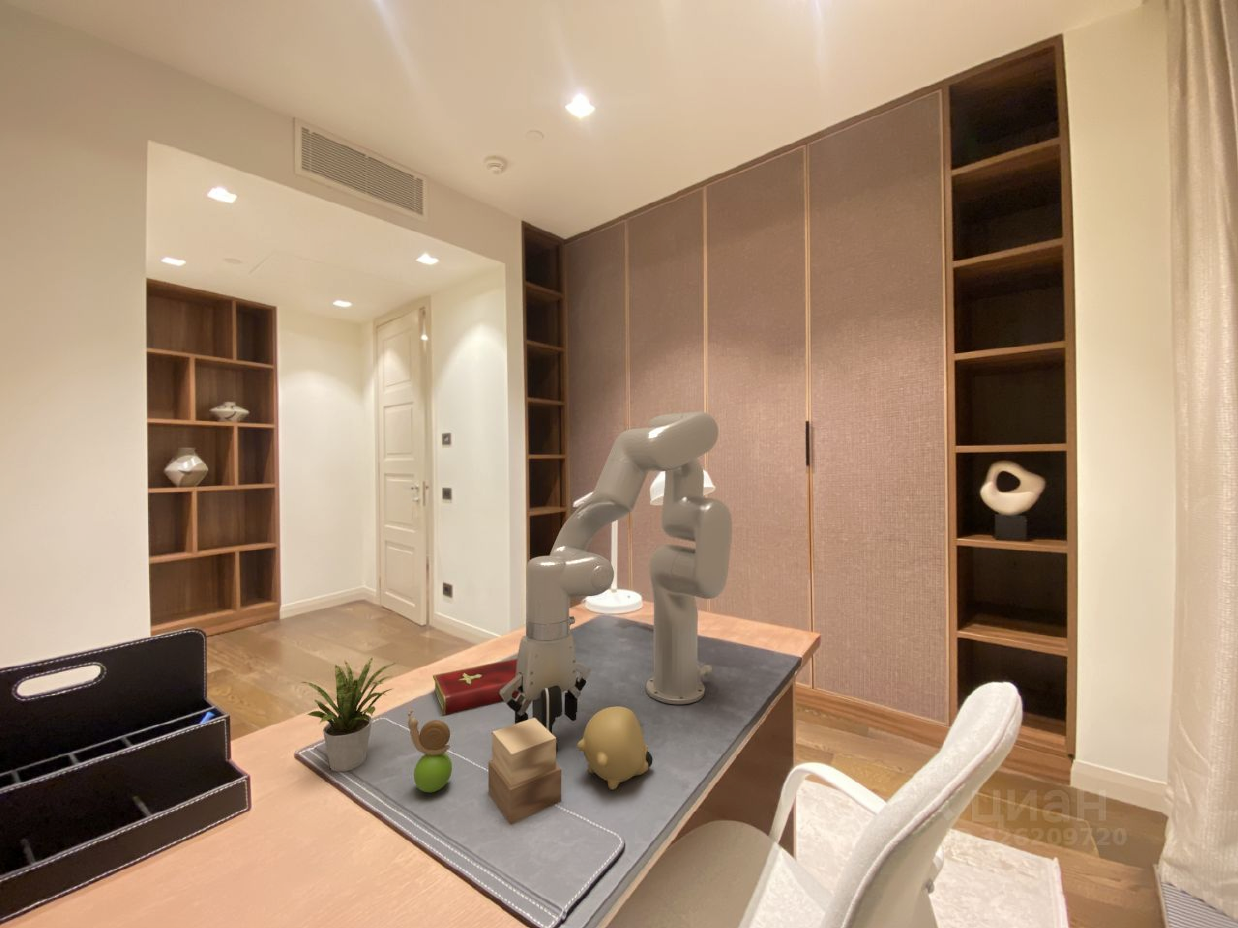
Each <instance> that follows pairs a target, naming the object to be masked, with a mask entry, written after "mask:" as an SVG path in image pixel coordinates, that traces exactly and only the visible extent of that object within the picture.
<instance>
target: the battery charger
mask: <svg viewBox="0 0 1238 928" xmlns="http://www.w3.org/2000/svg"><path fill="white" fill-rule="evenodd" d="M562 695H563V692H561V689H560V687H559V686H553V687H550V688H546V689H545V690H543V691H542V692H541V698H540V699H537V700H532V702H531V707H532V709H531V710H532V712H531V714H532V718H536V719H537V720H538V721H539V722H540V723H541V724H542V725H543V726H544V727H545V728H546V729H547V730H548V731H549V732H550V733H551V734H553V726H554V723H555V722H556V721H557V719H558V718H560V717H562V715H563V696H562ZM532 718H531V719H532ZM558 750H559V744H558V743H557V742H556V752H558Z"/></svg>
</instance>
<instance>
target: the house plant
mask: <svg viewBox="0 0 1238 928" xmlns="http://www.w3.org/2000/svg"><path fill="white" fill-rule="evenodd" d="M372 661H373V657H371V658H370V659H369V660H368V661H367V663H366V664H365V665H364V667H363V669H362V671H361V673H360V674H359V677H358V678H355V679H354V672H353V671H352V668H351V666H350V665H349V663H348V662H347V661H346V660H345V659H344V664H345V665H344V666H345V668H346V671H347V676H346V674H345V671H344V669H342V668H341V667H340V666H339V665H338V664H334V677H335V684H336V686H335V687H336V688H335V689H336V704H335V702H334V701H333V700H332V697H331V696H329V694H328V692H326V691H325V690H324V689H323V688H321V687H320V686H318V685H317V684H314V683H311V682H309V681H301V683H304V684H306V685H308V686H310V687H312V688H313V689H314V690H316V691H317V693H316V695H318V696H321V697H323V698H324V700H325V701H326V702H327V703H328V704H329V706H330V707H331V708H332V709H333V710H334V711H332V709H330V708H329V707H328V706H327V705H326V704H324V703H323V702H322V701H320V700H318V699H314V702H315V703H316V704H317V706H318V707H319V709H320V710H321V711H320V710H315V711H311V712H309V713H307V714H306V716H307V715H308V716H311V717H317V718H319V719H321V720H320V721H319V723H318V725H320V724H322V723H324V722H328V723H327V724H326V725H325V726H324V727H323V729H322V732H323V738H324V743H325V747H326V748H325V749H326V753H327V759H328V764H329V768H331V769H330V770H331V771H333V772H347V771H351V770H355V769H356V768H358V767H359V766H361V765H362V764H364V763H365V761H366V757H367V751H368V747H369V746H368V745H369V741H370V735H371V734H370V733H371V728H372V724H373V723H372V722H373V720H372V717H373V714H374V713H375V711H376V707H375V706H374V704H375V703H376V702H377V700H379V698H381V697H382V696H383V695H384V696H386V693H387V692H389V691H392V690H393V689H394V687H393V688H389V689H386V690H383V691H382V692H374V690H375V689H376V688H377V687H378V686H379V685H381V684H384V683H383V681H384V680H386V679H389V678H391V677H392V675H388V676H387V675H386V676H384V677H382V678H381V679H379V680H378V681H374V680H375V679H376V678H377V677H378V676H379V675H380V674H381V673H382V672H383V671H384V670H386V669H387V668H389V667H391V666H395V665H397V662H394V663H389V664H386V665H384V666H383V667H381V668H380V669H378V670H377V671H375V672H374V673H373V675H371V677H370V678H369V679H368V681H367V683H366V684H365V681H366V678H367V676H368V674H369V671H370V669H371V663H372ZM364 684H365V686H364ZM371 685H373V687H371V689H370V691H369V693H368V694H367V696H366V697H365V698H364V699H363V696H364V694H365V693H366V691H367V690H368V689H369V687H370V686H371ZM363 686H364V688H363ZM374 697H375V698H374ZM373 698H374V699H373ZM362 699H363V700H362ZM371 699H373V700H372V701H371V702H370V703H369V705H368V707H366V708H365V709H364V710H362V709H363V707H364V706H365V705H366V704H367V703H368V702H369V701H370V700H371ZM361 700H362V701H361ZM360 702H361V703H360ZM335 712H336V713H335ZM367 713H368V714H370V715H368V714H367Z"/></svg>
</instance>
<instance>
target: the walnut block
mask: <svg viewBox="0 0 1238 928" xmlns="http://www.w3.org/2000/svg"><path fill="white" fill-rule="evenodd" d="M487 764H488V775H487V777H488V782H487V783H488V786H487V787H488V794H489V796H490V797H491V799H492V801H493V802H494V803H495V805H496V806H497V808H498V809H499V810H500V813H501V814H502V815H503V816H504V818H505V819H506V821H507V823H508V824H509V825H510V826H511V825H513V824H516V823H517V822H520V821H522V820H525V818H528V817H530V816H533V815H535V814H537V813H539V812H541V811H544V810H545V809H548V808H549V807H552V806H554V805H556V804H559V803H560V802H562V768H561V767H560V766H559V765H558V764H557V763H556V768H555V769H553V770H551V771H548V772H546V773H543V774H541V775H538V776H536V777H534V778H531V779H529V780H526V781H524V782H521V783H519V784H517V785H514V786H512V787H511V786H510V784H509V783H508V782H507V780H506V779H505V778H504V776H503V775H502V774H501V772H500V771H499V770H498V768H497V767H496V766H495V764H494V763H493V762H492V759H491V760H488V763H487Z"/></svg>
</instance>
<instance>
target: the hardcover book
mask: <svg viewBox="0 0 1238 928" xmlns="http://www.w3.org/2000/svg"><path fill="white" fill-rule="evenodd" d="M516 666H517V658H512V659H507V660H502V661H498V662H491V663H486V664H481V665H476V666H472V667H471V666H470V667H467V668H461V669H456V670H452V671H447V672H442V673H437V674H433V675H432V678H433V680H434V684H435V685H434V692H435V695H436V697H437V699H438V701H439V704H440V706H441V709H442V716H443V717H444V716H445V717H446V716H449V715H454V714H457V713H461V712H466V711H469V710H473V709H478V708H482V707H486V706H490V705H493V704H499V703H502V702H505V701H504V700H503V698H502V696H501V695H500V690H501V689H502V688H503V687H504V686H505V685H507V684H508V683H509V682H510V681H511V680H512V679H514V678H515V677H516ZM519 693H520V692H517V690H515V691H514V692H513V693H512V698H513V699H514V700H515V699H516V698H517V696H518V695H519Z"/></svg>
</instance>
